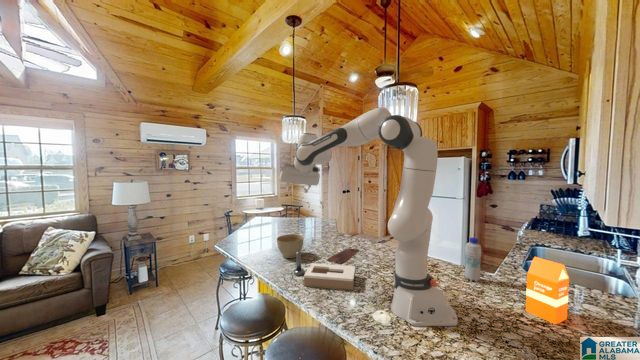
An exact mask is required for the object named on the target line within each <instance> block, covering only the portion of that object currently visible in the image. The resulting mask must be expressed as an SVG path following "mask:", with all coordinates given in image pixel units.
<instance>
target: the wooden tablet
mask: <svg viewBox="0 0 640 360" xmlns="http://www.w3.org/2000/svg"><path fill="white" fill-rule="evenodd" d="M358 252H359V248H357V249H356V248H350V247H349V248H345V249H343V250H341V251H340V252H337V253H335V254H334V255H332V256H330V257H329V258H327V260H326V261H327V262H330V263H334V264H336V265H343V263H345V262H347V261H348V260H349V259H350V258H352V257H353V256H355V255H356V254H357V253H358Z"/></svg>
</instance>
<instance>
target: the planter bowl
mask: <svg viewBox="0 0 640 360" xmlns="http://www.w3.org/2000/svg"><path fill="white" fill-rule="evenodd" d="M304 239H305V238H304V236H303V235H301V234H283V235H280V236H278V237H276V243H277V248H278V250H279V252H280V253H281V255H282V257H283V258H286V259H294V258H296V252H297V251H300V252H302V248H303V245H304Z"/></svg>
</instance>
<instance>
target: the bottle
mask: <svg viewBox="0 0 640 360" xmlns="http://www.w3.org/2000/svg"><path fill="white" fill-rule="evenodd" d="M464 254H465V264H464V265H465V267H464V276H465V277H464V278H465V279H466V280H469V281H470V282H473V281H474V282H475V283H477V282H480V280H481V259H482V258H481V257H482V246H481V244H479V240H478V238H477V237H469V242H466V243H465V248H464Z"/></svg>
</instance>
